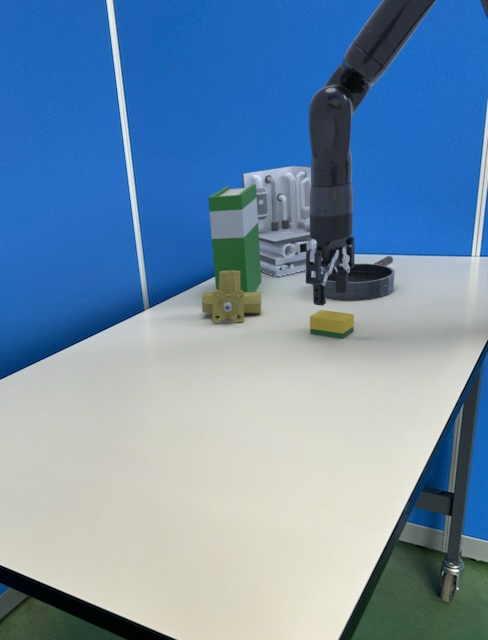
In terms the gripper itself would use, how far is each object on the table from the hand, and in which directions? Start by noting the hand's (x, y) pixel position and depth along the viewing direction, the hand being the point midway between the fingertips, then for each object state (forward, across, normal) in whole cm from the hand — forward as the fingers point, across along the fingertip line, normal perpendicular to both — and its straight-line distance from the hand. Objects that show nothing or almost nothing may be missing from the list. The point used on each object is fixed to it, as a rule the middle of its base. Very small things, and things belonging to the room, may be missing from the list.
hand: (330, 298), depth 118 cm
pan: (+7, +28, +9) cm, 30 cm away
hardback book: (+7, +17, +34) cm, 39 cm away
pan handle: (+5, +42, +9) cm, 43 cm away
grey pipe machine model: (+7, +42, +36) cm, 56 cm away
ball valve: (+7, 0, +24) cm, 25 cm away
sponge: (+7, 0, 0) cm, 7 cm away
